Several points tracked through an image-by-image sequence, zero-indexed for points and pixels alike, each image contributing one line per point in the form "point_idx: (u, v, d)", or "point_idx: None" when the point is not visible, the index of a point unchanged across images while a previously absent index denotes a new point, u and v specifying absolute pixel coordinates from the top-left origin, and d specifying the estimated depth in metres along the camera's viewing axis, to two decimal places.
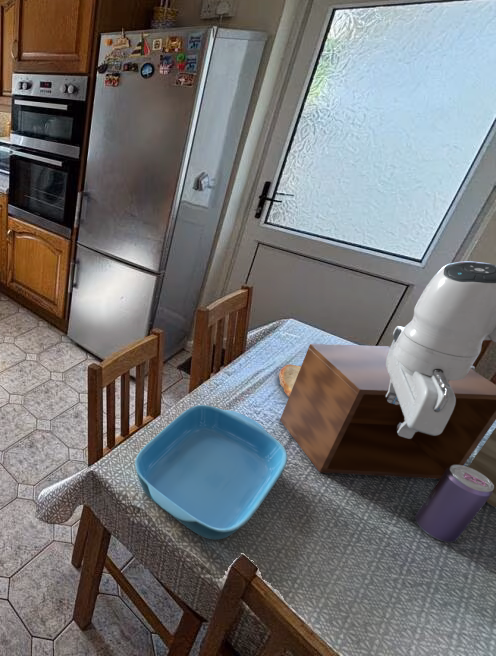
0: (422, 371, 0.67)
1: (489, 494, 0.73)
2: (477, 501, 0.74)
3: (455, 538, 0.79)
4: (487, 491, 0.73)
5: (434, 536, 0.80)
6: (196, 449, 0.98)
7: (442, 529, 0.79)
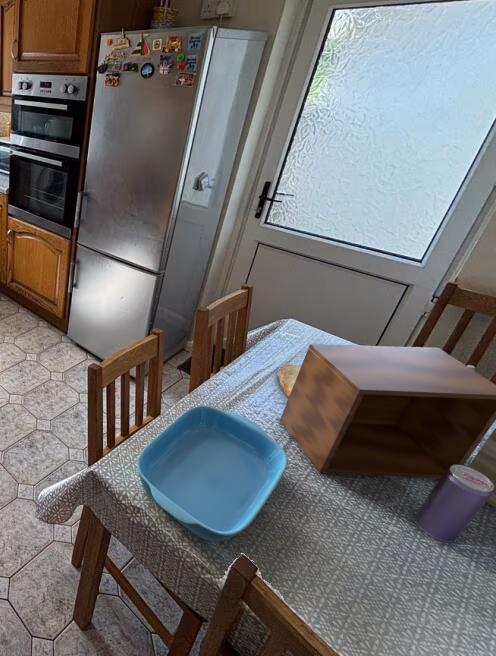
0: None
1: (489, 494, 0.73)
2: (478, 501, 0.74)
3: (455, 538, 0.79)
4: (487, 491, 0.73)
5: (434, 536, 0.80)
6: (196, 449, 0.99)
7: (442, 529, 0.79)
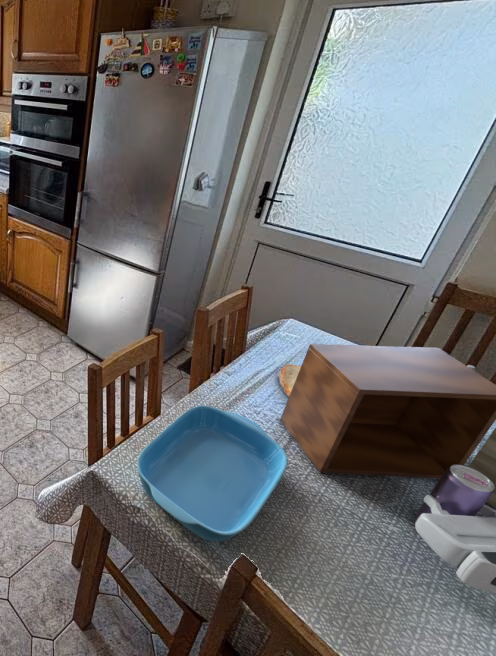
0: None
1: (489, 494, 0.73)
2: (478, 501, 0.74)
3: None
4: (487, 491, 0.73)
5: None
6: (196, 449, 0.99)
7: None
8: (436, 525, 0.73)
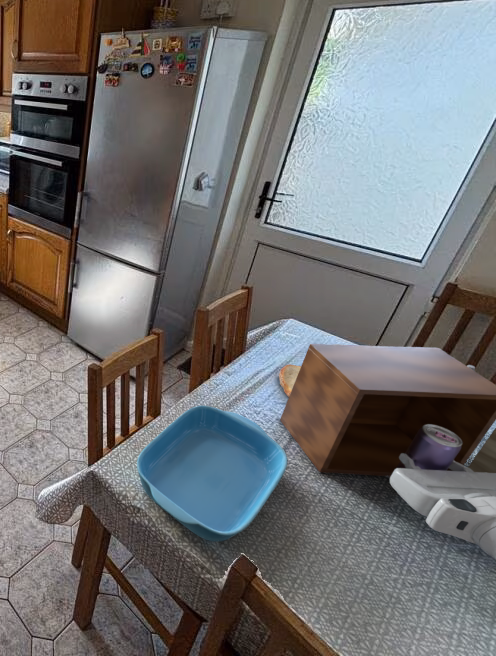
0: None
1: (458, 449, 0.79)
2: (447, 456, 0.79)
3: None
4: (456, 446, 0.79)
5: None
6: (196, 449, 0.99)
7: None
8: (408, 478, 0.78)
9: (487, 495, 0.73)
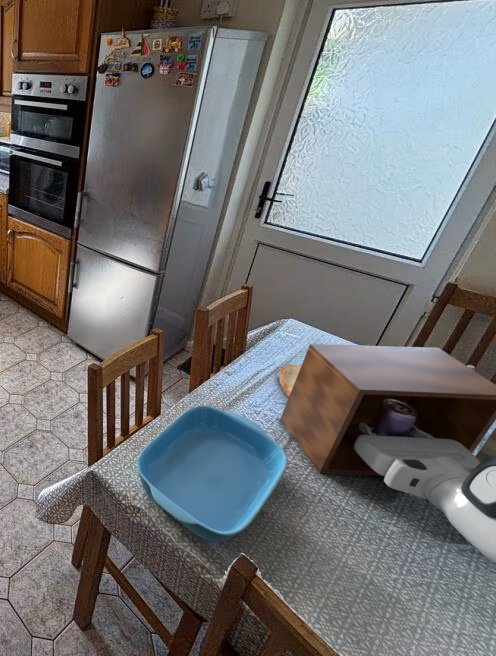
0: None
1: (413, 420, 0.88)
2: (404, 426, 0.88)
3: None
4: (411, 417, 0.87)
5: None
6: (196, 449, 0.99)
7: None
8: (369, 442, 0.87)
9: (438, 456, 0.82)
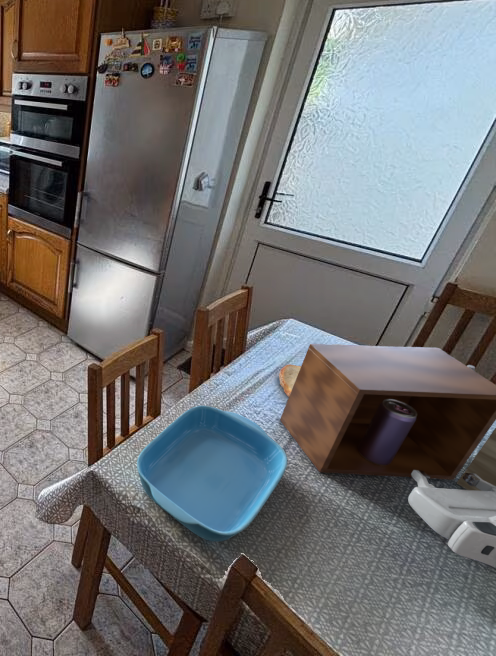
0: None
1: (413, 420, 0.88)
2: (404, 426, 0.88)
3: (388, 461, 0.93)
4: (411, 417, 0.87)
5: (371, 461, 0.94)
6: (196, 449, 0.99)
7: (378, 454, 0.93)
8: (428, 498, 0.74)
9: None
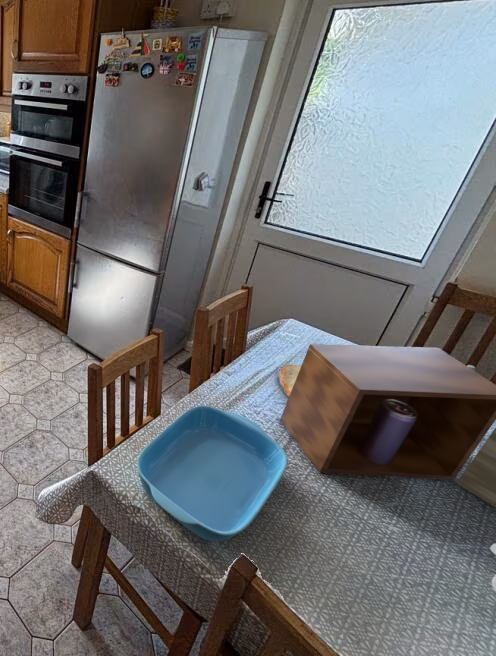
0: None
1: (413, 420, 0.88)
2: (404, 426, 0.88)
3: (388, 461, 0.93)
4: (411, 417, 0.87)
5: (371, 461, 0.94)
6: (196, 449, 0.99)
7: (378, 454, 0.93)
8: None
9: None
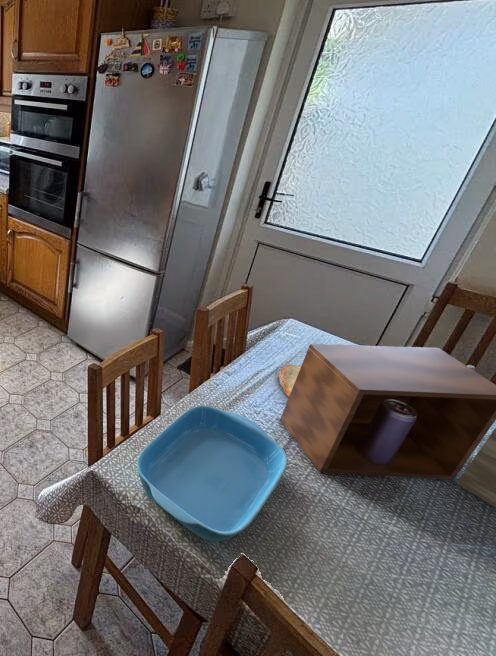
0: None
1: (413, 420, 0.88)
2: (404, 426, 0.88)
3: (388, 461, 0.93)
4: (411, 417, 0.87)
5: (371, 461, 0.94)
6: (196, 449, 0.99)
7: (378, 454, 0.93)
8: None
9: None
